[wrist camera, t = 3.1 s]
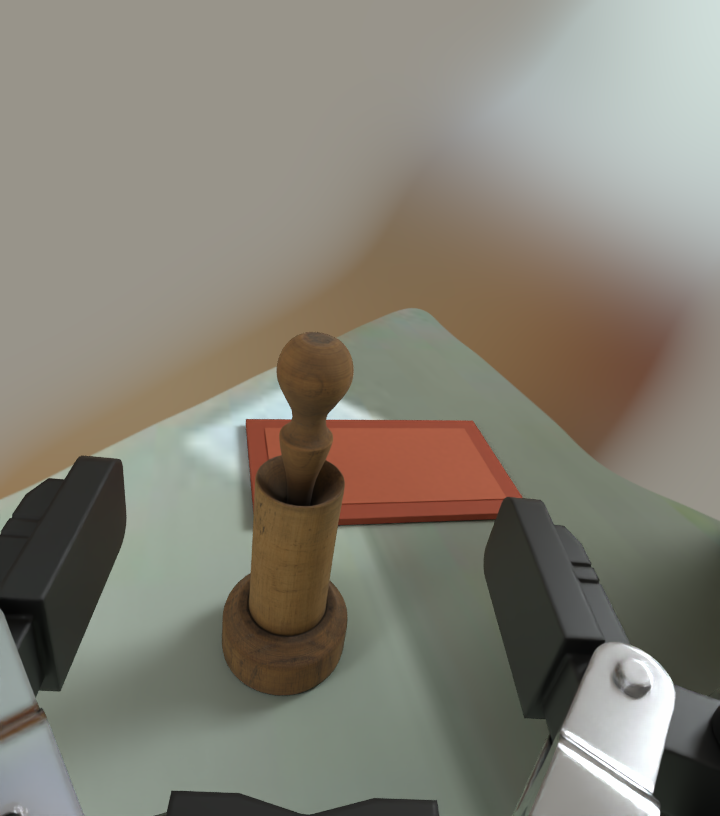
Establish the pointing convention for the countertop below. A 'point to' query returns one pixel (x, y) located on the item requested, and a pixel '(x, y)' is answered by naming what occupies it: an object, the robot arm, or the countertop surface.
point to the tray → (402, 469)
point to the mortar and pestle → (294, 536)
